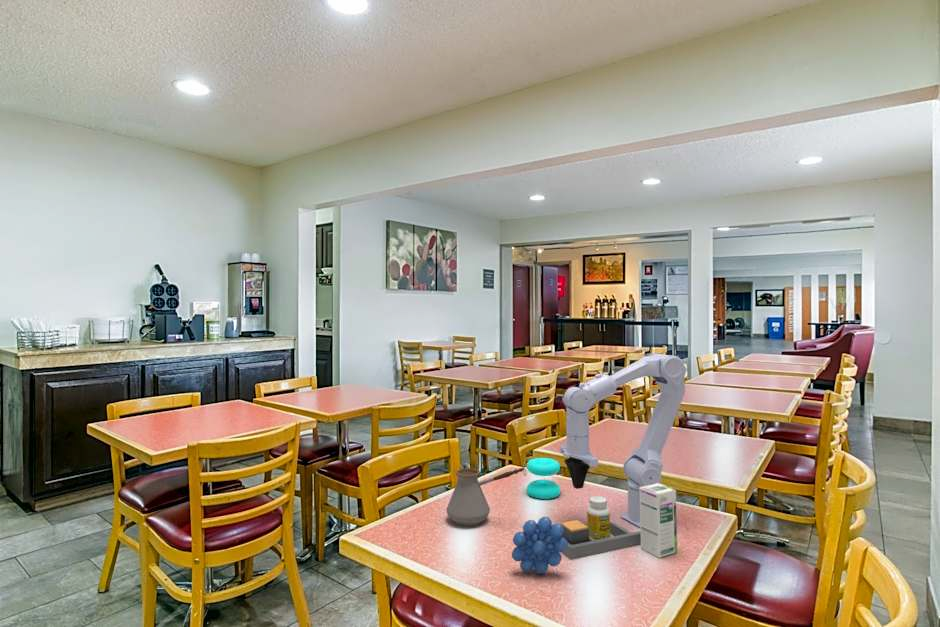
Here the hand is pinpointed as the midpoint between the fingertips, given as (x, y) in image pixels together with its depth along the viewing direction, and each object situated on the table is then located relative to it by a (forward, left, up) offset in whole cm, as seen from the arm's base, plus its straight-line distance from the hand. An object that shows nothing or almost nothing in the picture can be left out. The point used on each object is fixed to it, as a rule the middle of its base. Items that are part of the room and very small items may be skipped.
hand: (578, 487), depth 134 cm
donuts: (-3, -23, -10) cm, 25 cm away
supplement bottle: (0, +8, -10) cm, 13 cm away
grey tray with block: (+2, +11, -10) cm, 15 cm away
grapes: (+21, +17, -10) cm, 29 cm away
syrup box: (-9, +19, -10) cm, 23 cm away
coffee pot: (+21, -11, -10) cm, 26 cm away
